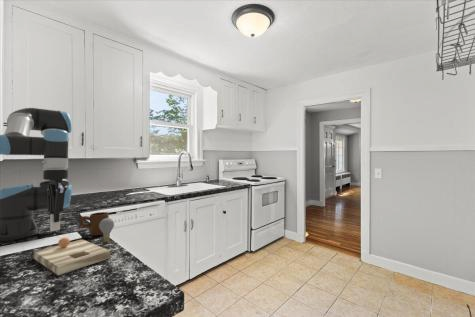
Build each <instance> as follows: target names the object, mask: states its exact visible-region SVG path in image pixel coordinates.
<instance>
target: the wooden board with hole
mask: <svg viewBox="0 0 475 317" xmlns="http://www.w3.org/2000/svg"><path fill="white" fill-rule="evenodd" d="M33 259H34V260H35V261H37V262H38V263H39V264H40V265H43V266H44V267H45V268H46V269H48V270H49V271H51V272H53V274H55V275H57V276H60V275H64V274H67V273H70V272H73V271H76V270H78V269H81V268H84V267H87V266H90V265H93V264H96V263H100V262H102V261H105V260H108V259H111V250H110V249H108V248H104V247H103V246H100V245H97V244H95V243H92V242H89V241H87V240H85V239H78V240H75V241H70V243H69V245H68V246H66V247H60V246H59V245H58V244H57V245H55V246H49V247H45V248H43V249H39V250H35V251H33Z"/></svg>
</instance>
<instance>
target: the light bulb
mask: <svg viewBox="0 0 475 317" xmlns="http://www.w3.org/2000/svg"><path fill="white" fill-rule="evenodd" d="M114 227H115V222H114V220H113V219H112V218H105V219H103V220H102V221H101V222H100V224H99V228H100V230H101V231H102V233H103V235H102V236H103V242H104V243H108V242H110V236H111V235H110V234H111V232H112V230H113V229H114Z"/></svg>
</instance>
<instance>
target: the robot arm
mask: <svg viewBox="0 0 475 317" xmlns="http://www.w3.org/2000/svg"><path fill="white" fill-rule="evenodd" d="M70 116H71V115H70V114H69V112H67V111H61V110H54V109H46V108H45V109H44V108H37V107H25V108H20V109H18V110H15V111H12V112H11V113H10V114H9V115H8V117H7V118H6V123H7V126H6V129H5V132H4V133H3V134H0V155H6V156H43V160H42V161H41V164H43V175H42V176H43V178H42V180H41V181H40V182H39V186H35V185H34V184H33V183H29V184H20V185H14V186H13V185H12V186H7V187H6V186H5V187H2V188H0V242H8V241H13V240H14V241H17V240H20V239H25V238H30V237H32V236H36V234H38V226H37V224H36V221H35V219H34V212H40V211H41V212H42V211H48V212H49V215H50V218H49V220H50V221H49V224H50V225H49V232H56V231H60V230H61V213H63V211H64V209H65V208H68V207H69V206H70V203H71V199H72V193H73V185H72V184H70V183H69V180H67V179H68V178H69V170H68V169H69V134H71V133H72V120H71V117H70ZM31 131H39V132H40V134H41V135H42V136H30V133H31Z"/></svg>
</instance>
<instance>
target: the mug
mask: <svg viewBox="0 0 475 317" xmlns="http://www.w3.org/2000/svg"><path fill="white" fill-rule="evenodd" d="M105 218H109V212H106V211H103V212H101V211H99V212H94V213H90V215H89V216H87V215H84V216H80V218H79V219H78V225H79V226H80V227H82V228H88V229H89V234H90V236H91V237H96V236H98V235H99V236H104V235H103V233H102V231H101V230H100V228H99V224H100V222H101V221H102V220H103V219H105ZM83 220H85V221H89V222H88V223H86V222H85V223H84V222H83Z"/></svg>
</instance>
